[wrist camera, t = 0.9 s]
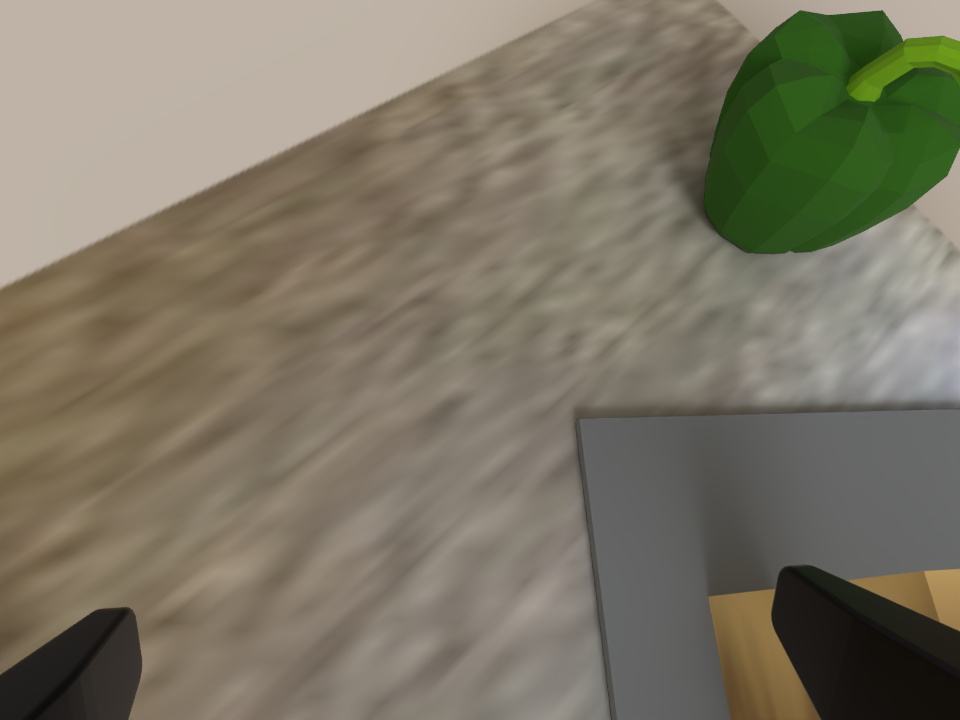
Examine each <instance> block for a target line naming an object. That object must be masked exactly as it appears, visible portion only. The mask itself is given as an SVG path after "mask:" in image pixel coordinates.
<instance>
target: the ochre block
mask: <svg viewBox="0 0 960 720" xmlns="http://www.w3.org/2000/svg"><path fill="white" fill-rule="evenodd" d="M846 581H849V582H851V583H853V584H855V585H858V586H860V587H862V588H864V589H867V590H869V591H871V592H873V593H876V594H878V595H880V596H882V597H885V598H887V599H889V600H891V601H893V602H896V603H898V604H900V605H902V606H905V607H907V608H909V609H911V610H914V611H916V612H918V613H920V614H923V615H925V616H927V617H929V618H932V619H934V620H936V621H938V622H941V623H943V624H945V625H947V626H950V627H952V628H954V629H956V630H959V631H960V569H950V570H933V571H920V572H912V573H903V574H895V575H887V576H878V577H870V578H861V579H853V580H846ZM774 594H775V589H768V590H760V591H751V592H743V593H735V594H726V595H718V596H709V597H708V599H709V604H710V610H711V615H712V620H713V626H714V631H715V637H716V642H717V647H718V653H719V658H720V664H721V669H722V674H723V680H724V685H725V690H726V696H727V701H728V707H729V712H730V717H731V720H821V719H820V717H819V715H818V714H817V712H816V710H815V708H814V706H813V704H812V702H811V700H810V698H809V696H808V694H807V693H806V691H805V689H804V687H803V685H802V683H801V681H800V679H799V677H798V675H797V673H796V671H795V669H794V667H793V666H792V664H791V662H790V660H789V658H788V656H787V654H786V652H785V650H784V648H783V646H782V644H781V642H780V640H779V639H778V637H777V635H776V633H775V631H774V628H773V625H772V620H771V609H772V604H773V599H774Z"/></svg>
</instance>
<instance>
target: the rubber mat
mask: <svg viewBox="0 0 960 720" xmlns="http://www.w3.org/2000/svg"><path fill="white" fill-rule="evenodd" d="M575 424H576V432H577V441H578V449H579V457H580V465H581V473H582V481H583V489H584V497H585V506H586V514H587V522H588V530H589V538H590V546H591V554H592V562H593V571H594V579H595V587H596V595H597V603H598V611H599V619H600V627H601V636H602V644H603V652H604V660H605V668H606V676H607V684H608V693H609V701H610V709H611V717H612V720H731V717H730V712H729V707H728V701H727V696H726V690H725V685H724V680H723V674H722V669H721V664H720V658H719V653H718V647H717V642H716V637H715V631H714V626H713V620H712V615H711V610H710V604H709V599H708V597H709V596H718V595H726V594H735V593H743V592H751V591H760V590H768V589H776V584H777V578H778V574H779V572H780V570H781V569H782V568H783V567H785V566H790V565H806V564H807V565H812V566H815V567H817V568H819V569H822V570H824V571H826V572H828V573H831V574H833V575H835V576H837V577H840V578H842V579H844V580H853V579H861V578H870V577H878V576H887V575H895V574H903V573H912V572H920V571H933V570H950V569H960V409H938V410H898V411H859V412H820V413H781V414H742V415H702V416H663V417H624V418H585V419H579V420H578V421H577V422H576V423H575Z"/></svg>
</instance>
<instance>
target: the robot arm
mask: <svg viewBox="0 0 960 720" xmlns="http://www.w3.org/2000/svg"><path fill="white" fill-rule="evenodd" d="M771 620H772V625H773V628H774V631H775V633H776V635H777V637H778V639H779V640H780V642H781V644H782V646H783V648H784V650H785V652H786V654H787V656H788V658H789V660H790V662H791V664H792V666H793V667H794V669H795V671H796V673H797V675H798V677H799V679H800V681H801V683H802V685H803V687H804V689H805V691H806V693H807V694H808V696H809V698H810V700H811V702H812V704H813V706H814V708H815V710H816V712H817V714H818V715H819V717H820V719H821V720H960V631H959V630H956V629H954V628H952V627H950V626H947V625H945V624H943V623H941V622H938V621H936V620H934V619H932V618H929V617H927V616H925V615H923V614H920V613H918V612H916V611H914V610H911V609H909V608H907V607H905V606H902V605H900V604H898V603H896V602H893V601H891V600H889V599H887V598H885V597H882V596H880V595H878V594H876V593H873V592H871V591H869V590H867V589H864V588H862V587H860V586H858V585H855V584H853V583H851V582H849V581H846V580H844V579H842V578H840V577H837V576H835V575H833V574H831V573H828V572H826V571H824V570H822V569H819V568H817V567H815V566H812V565H807V564H806V565H790V566H785V567H783V568H782V569H781V570H780V572H779V574H778V578H777V584H776V589H775V594H774V599H773V604H772V609H771ZM141 672H142V655H141V649H140V642H139V635H138V628H137V622H136V616H135V614H134V612H133V610H132V609H130V608H129V607H121V608H104V609H98V610H95V611H94V612H92V613H90V614H89V615H87V616H86V617H84V618H83V619H82V620H80V621H79V622H77V623H76V624H74V625H73V626H71V627H70V628H68V629H67V630H65V631H64V632H62V633H61V634H60V635H58V636H57V637H55V638H54V639H52V640H51V641H49V642H48V643H46V644H45V645H43V646H42V647H40V648H39V649H37V650H36V651H35V652H33V653H32V654H30V655H29V656H27V657H26V658H24V659H23V660H21V661H20V662H18V663H17V664H15V665H14V666H13V667H11V668H10V669H8V670H7V671H5V672H4V673H2V674H1V675H0V720H128V719H129V715H130V712H131V708H132V705H133V702H134V698H135V695H136V692H137V688H138V685H139V682H140V678H141Z"/></svg>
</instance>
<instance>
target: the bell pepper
mask: <svg viewBox="0 0 960 720" xmlns="http://www.w3.org/2000/svg"><path fill="white" fill-rule="evenodd" d="M959 148H960V41H957V40H954V39H951V38H948V37H945V36H936V37H923V38H910V39H906V40H905V41H903V40H902V37H901V35H900V34H899V32H898V31H897V29H896V28H895V27H894V25H893V24H892V23H891V21H890V20H889V18H888V17H887V16H886V14H885V13H884V12H883V11H872V12H860V13H848V14H837V15H824V14H818V13H812V12H806V11H799V12H797V13H796V14H794V15H793V16H792V17H790V18H789V19H787V20H786V21H785V22H783V23H782V24H781V25H779V26H778V27H776V28H775V29H774V30H773V31H772V32H771V33H770V34H769V35H768V36H767V37H766V38H765V39H764V40H763V41H761V42H760V43H759V44H758V45H757V46H756V47H755V48H754V49H753V50H752V51H751V52H750V53H749V54H748V56H747V58H746V59H745V61H744V63H743V65H742V66H741V68H740V70H739V72H738V74H737V75H736V77H735V79H734V81H733V82H732V84H731V86H730V88H729V89H728V91H727V95H726V98H725V101H724V104H723V108H722V111H721V114H720V117H719V121H718V124H717V127H716V131H715V135H714V139H713V144H712V148H711V152H710V161H709V166H708V170H707V174H706V180H705V193H704V207H705V212H706V214H707V216H708V217H709V219H710V220H711V222H712V223H713V224H714V226H715V227H716V229H717V230H718V232H719V233H720V234H721V236H723V237H724V238H726V239H727V240H729V241H730V242H732V243H733V244H735V245H736V246H738V247H739V248H741V249H742V250H744V251H745V252H747V253H760V254H782V253H786V252H788V251H789V250H790V251H792V252H794V253H801V252H812V251H816V250H819V249H822V248H826V247H829V246H833V245H835V244H837V243H839V242H842V241H844V240H846V239H848V238H850V237H852V236H855V235H857V234H859V233H861V232H863V231H865V230H867V229H869V228H871V227H873V226H875V225H876V224H878V223H880V222H882V221H884V220H886V219H888V218H890V217H892V216H893V215H895V214H897V213H899V212H901V211H903V210H905V209H907V208H908V207H909V206H910V205H912V204H913V203H914V202H915V201H917V200H918V199H919V198H920V197H921V196H923V195H924V194H925V193H926V192H928V191H929V190H930V189H931V188H933V187H934V186H935V185H936V184H937V183H939V182H940V181H941V180H943V179H944V178H945V177H946V176H947V175H948V172H949V171H950V168H951V166H952V164H953V162H954V159H955V157H956V155H957V153H958V151H959Z"/></svg>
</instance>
